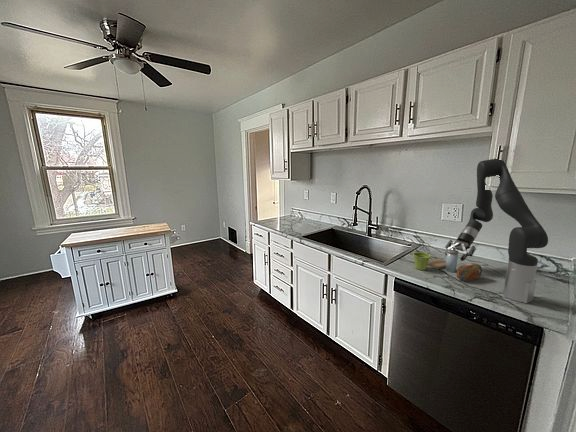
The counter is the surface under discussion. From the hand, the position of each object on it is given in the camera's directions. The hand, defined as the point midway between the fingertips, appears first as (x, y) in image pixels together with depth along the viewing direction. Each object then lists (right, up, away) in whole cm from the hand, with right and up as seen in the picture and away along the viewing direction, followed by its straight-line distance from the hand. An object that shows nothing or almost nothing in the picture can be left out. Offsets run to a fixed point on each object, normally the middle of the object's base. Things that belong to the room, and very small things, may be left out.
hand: (453, 257), depth 140 cm
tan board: (-3, -6, +10) cm, 12 cm away
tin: (+1, -10, -10) cm, 14 cm away
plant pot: (-17, -7, +5) cm, 19 cm away
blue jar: (-1, -8, +1) cm, 8 cm away
